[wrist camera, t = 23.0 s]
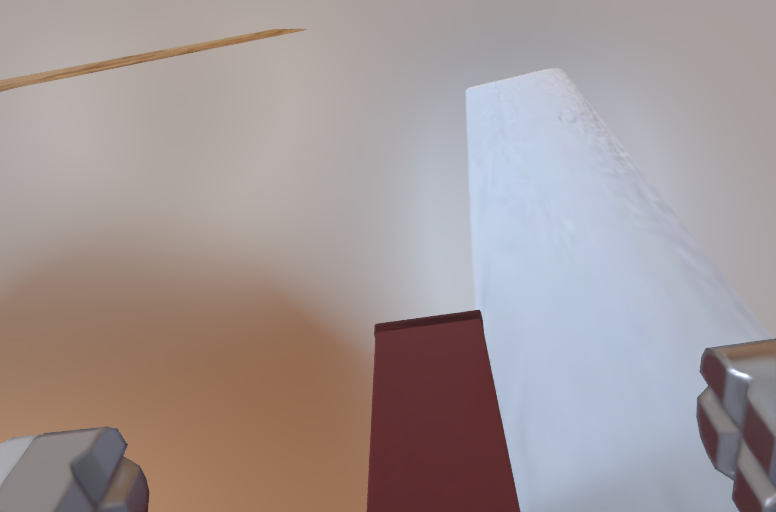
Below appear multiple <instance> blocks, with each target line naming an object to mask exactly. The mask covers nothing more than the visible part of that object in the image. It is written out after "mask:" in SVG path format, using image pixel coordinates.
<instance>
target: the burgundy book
mask: <svg viewBox="0 0 776 512" xmlns="http://www.w3.org/2000/svg"><path fill="white" fill-rule="evenodd" d="M374 335H375V355H374V356H375V357H374V375H373V395H372V416H371V437H370V456H369V477H368V497H367V498H368V499H367V512H520V508H519V503H518V498H517V493H516V488H515V483H514V478H513V473H512V469H511V464H510V459H509V454H508V449H507V444H506V439H505V434H504V429H503V424H502V420H501V415H500V410H499V405H498V400H497V395H496V390H495V385H494V380H493V375H492V371H491V366H490V361H489V356H488V351H487V346H486V341H485V336H484V328H483V320H482V315H481V311H480V310H474V311H467V312H460V313H453V314H445V315H438V316H430V317H423V318H416V319H408V320H401V321H394V322H386V323H379V324H375V331H374Z"/></svg>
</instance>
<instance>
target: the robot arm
mask: <svg viewBox="0 0 776 512" xmlns="http://www.w3.org/2000/svg"><path fill="white" fill-rule="evenodd" d="M700 373H701V375H702V376H703V378H704V380H705V381H706V383H707V384H708V387H707V388H706V389H705V390H704V391H703V392H702V393H701V394H700V395H699V396H698V397H697V416H696V417H697V422H698V427H699V433H700V437H701V440H702V443H703V445H704V448H705V450H706V453H707V455H708V457H709V458H710V460H711V462H712V464H713V466H714V468H715V469H716V470H718V471H719V472H721V473H723V474H724V475H726V476H727V477H729V478H731V479H732V480H734V485H733V493H732V500H733V501H734V503H735V505H736V507H737V508H738V510H739V512H776V339H769V340H762V341H755V342H747V343H740V344H733V345H726V346H718V347H711V348H706V349H705V351H704V353H703V355H702V357H701V365H700ZM127 445H128V444H127V443H126V441H125V440H124V438H123V437H122V435H121V433H120V432H119V430H118V429H117V428H111V427H99V428H89V429H80V430H70V431H61V432H52V433H44V434H42V435H30V436H20V437H13V438H11V439H9V440H7V441H5V442H3V443H2V444H0V512H148V503H149V489H148V485H147V480H146V477H145V475H144V473H143V471H142V469H141V468H140V466H139V465H137V464H136V463H134V462H132V461H131V460H129V459H127V458H126V457H124V454H125V451H126V448H127Z"/></svg>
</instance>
